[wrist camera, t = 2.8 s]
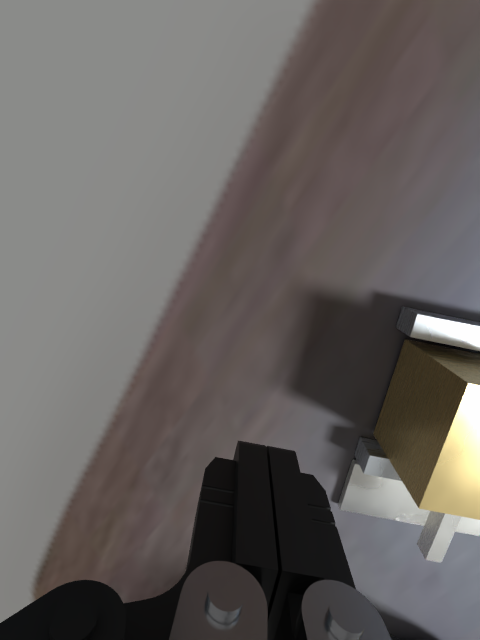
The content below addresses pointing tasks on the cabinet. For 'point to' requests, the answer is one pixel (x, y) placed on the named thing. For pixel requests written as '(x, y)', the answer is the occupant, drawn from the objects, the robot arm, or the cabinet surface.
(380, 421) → the tan gold cube
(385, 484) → the grey open frame tray
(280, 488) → the robot arm
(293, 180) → the cabinet surface
